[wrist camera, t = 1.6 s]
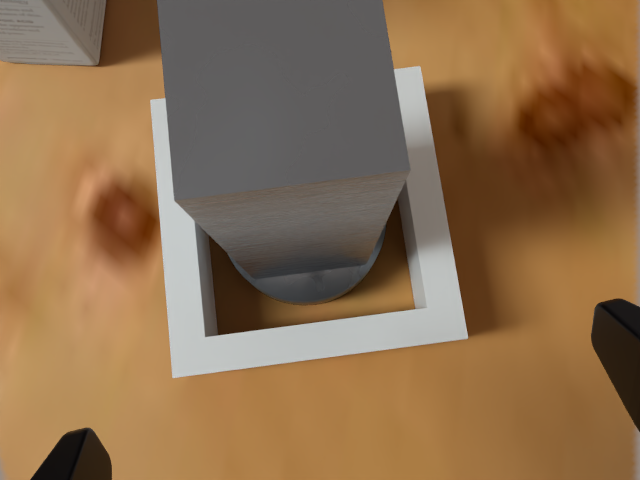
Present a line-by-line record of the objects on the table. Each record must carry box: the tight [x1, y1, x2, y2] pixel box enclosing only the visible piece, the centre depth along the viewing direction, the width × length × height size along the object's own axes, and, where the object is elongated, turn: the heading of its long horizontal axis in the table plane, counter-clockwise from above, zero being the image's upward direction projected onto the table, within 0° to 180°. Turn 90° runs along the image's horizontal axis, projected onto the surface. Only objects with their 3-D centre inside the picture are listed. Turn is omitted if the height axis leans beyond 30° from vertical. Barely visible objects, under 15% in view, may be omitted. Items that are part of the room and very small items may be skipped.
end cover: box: [157, 0, 411, 305], centre depth 17 cm, size 6×6×13 cm
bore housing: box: [150, 66, 468, 378], centre depth 22 cm, size 10×10×2 cm
